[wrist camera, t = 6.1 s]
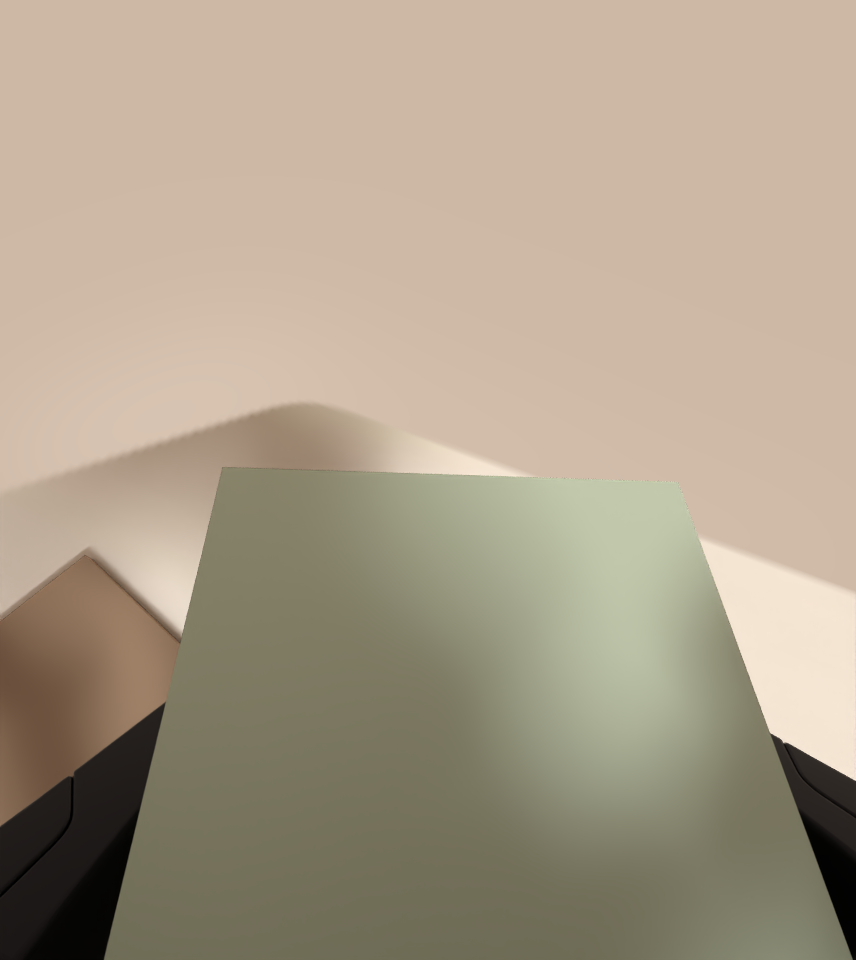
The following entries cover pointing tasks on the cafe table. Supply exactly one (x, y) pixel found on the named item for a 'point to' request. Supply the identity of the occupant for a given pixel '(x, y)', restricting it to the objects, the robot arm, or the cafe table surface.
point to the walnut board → (74, 679)
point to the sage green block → (463, 737)
